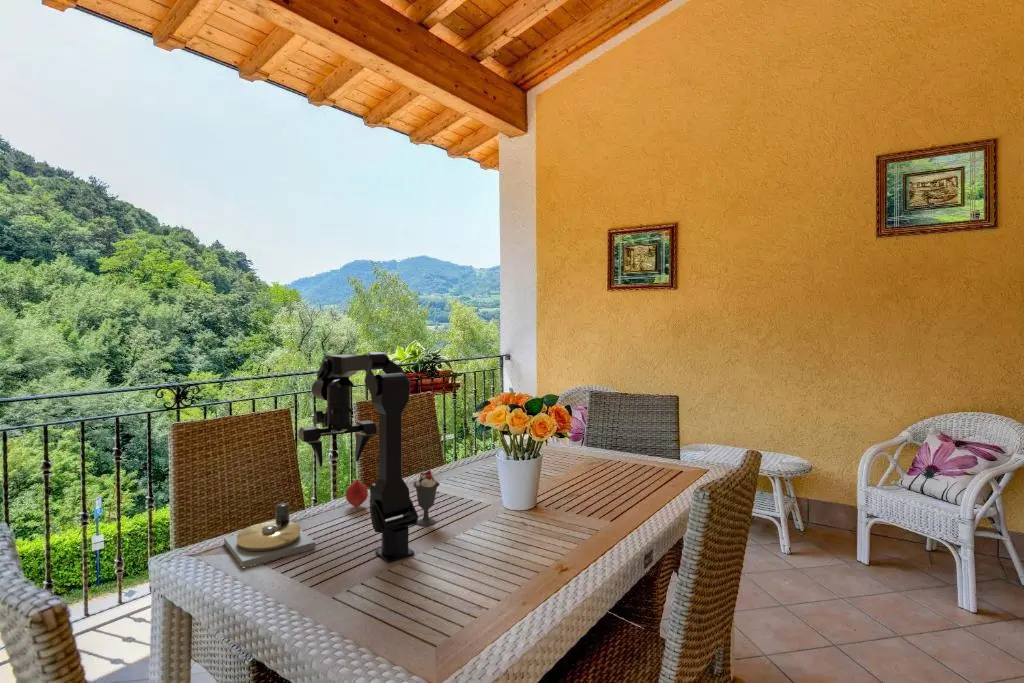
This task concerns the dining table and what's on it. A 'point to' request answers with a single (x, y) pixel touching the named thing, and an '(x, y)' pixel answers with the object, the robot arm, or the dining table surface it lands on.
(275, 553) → the base plate
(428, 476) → the sundae
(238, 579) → the dining table surface
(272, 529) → the handwheel
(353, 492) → the onion
